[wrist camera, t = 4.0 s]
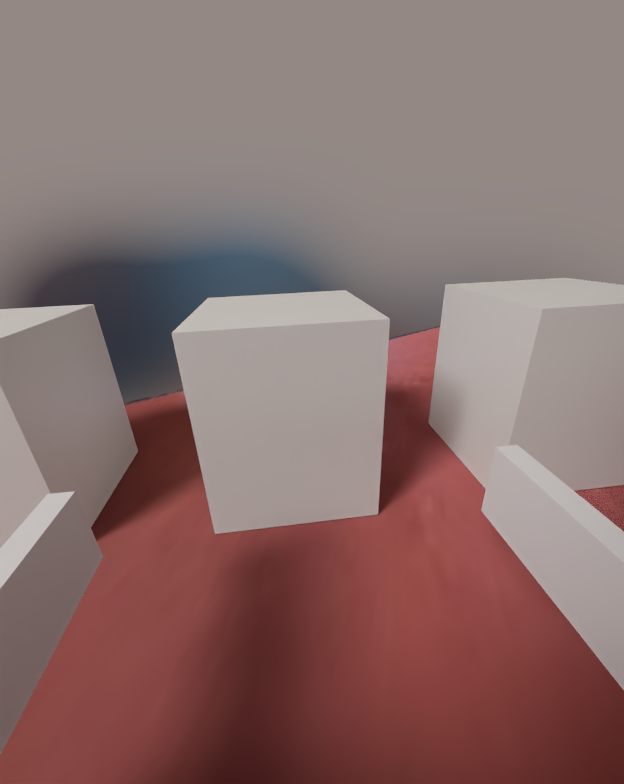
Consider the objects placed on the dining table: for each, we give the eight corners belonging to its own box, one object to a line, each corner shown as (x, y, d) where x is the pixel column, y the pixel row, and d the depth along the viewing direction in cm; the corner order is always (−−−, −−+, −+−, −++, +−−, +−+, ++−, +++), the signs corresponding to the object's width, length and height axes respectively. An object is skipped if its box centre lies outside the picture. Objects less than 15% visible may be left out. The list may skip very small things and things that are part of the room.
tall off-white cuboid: (344, 431, 27) (345, 290, 22) (378, 514, 19) (389, 318, 14) (231, 442, 26) (208, 297, 22) (215, 534, 18) (171, 333, 13)
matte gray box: (138, 451, 25) (93, 304, 21) (77, 550, 17) (-18, 344, 13) (10, 463, 25) (-65, 313, 20) (-116, 573, 16) (-293, 362, 12)
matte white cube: (529, 413, 28) (566, 277, 24) (635, 483, 20) (721, 297, 16) (428, 423, 28) (445, 284, 23) (495, 500, 19) (542, 308, 15)
